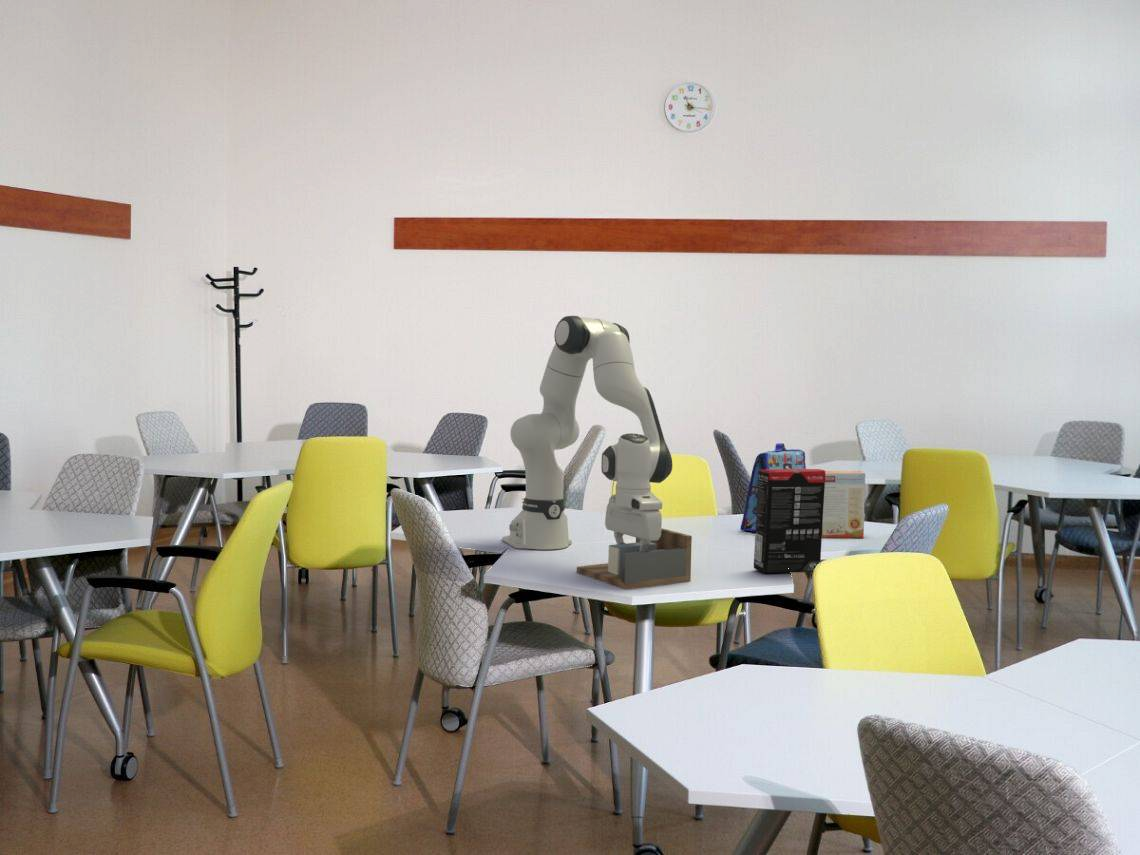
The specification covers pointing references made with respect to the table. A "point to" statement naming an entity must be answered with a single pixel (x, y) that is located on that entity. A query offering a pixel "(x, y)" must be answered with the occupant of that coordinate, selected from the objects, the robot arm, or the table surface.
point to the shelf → (665, 542)
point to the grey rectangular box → (616, 555)
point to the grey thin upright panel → (653, 564)
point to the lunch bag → (768, 461)
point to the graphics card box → (789, 520)
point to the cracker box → (843, 504)
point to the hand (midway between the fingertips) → (631, 552)
